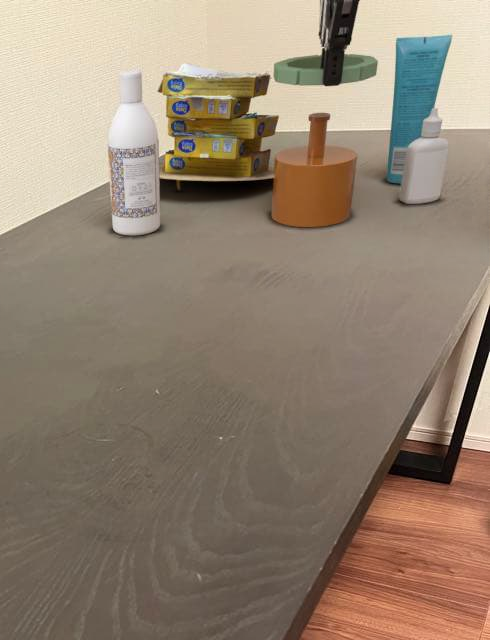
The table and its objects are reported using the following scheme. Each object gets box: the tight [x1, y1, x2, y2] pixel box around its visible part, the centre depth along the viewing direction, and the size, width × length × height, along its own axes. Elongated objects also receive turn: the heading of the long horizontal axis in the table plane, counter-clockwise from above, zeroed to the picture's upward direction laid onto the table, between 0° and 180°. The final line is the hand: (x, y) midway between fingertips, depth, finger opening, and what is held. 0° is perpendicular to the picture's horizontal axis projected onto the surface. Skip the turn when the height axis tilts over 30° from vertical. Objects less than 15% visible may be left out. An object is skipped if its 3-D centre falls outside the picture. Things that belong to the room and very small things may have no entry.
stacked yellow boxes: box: [157, 62, 280, 191], centre depth 126 cm, size 25×25×17 cm
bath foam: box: [107, 69, 161, 236], centre depth 109 cm, size 7×7×20 cm
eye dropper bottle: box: [398, 107, 450, 205], centre depth 111 cm, size 4×6×12 cm
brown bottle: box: [270, 112, 358, 228], centre depth 110 cm, size 11×11×13 cm
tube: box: [385, 34, 453, 185], centre depth 117 cm, size 7×5×19 cm, turn 85°
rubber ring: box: [272, 53, 379, 86], centre depth 102 cm, size 13×13×2 cm
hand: (329, 83), depth 98 cm, fingers closed on rubber ring, 2 cm apart
